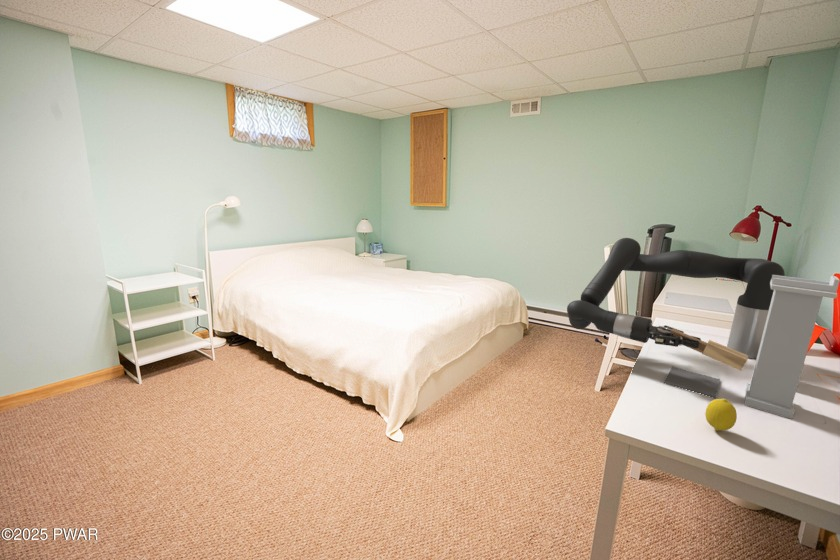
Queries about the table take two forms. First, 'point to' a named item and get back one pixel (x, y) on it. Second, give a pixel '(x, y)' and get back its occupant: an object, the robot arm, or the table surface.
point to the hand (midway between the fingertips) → (699, 343)
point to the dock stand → (786, 342)
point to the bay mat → (692, 381)
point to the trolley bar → (718, 352)
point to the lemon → (721, 414)
